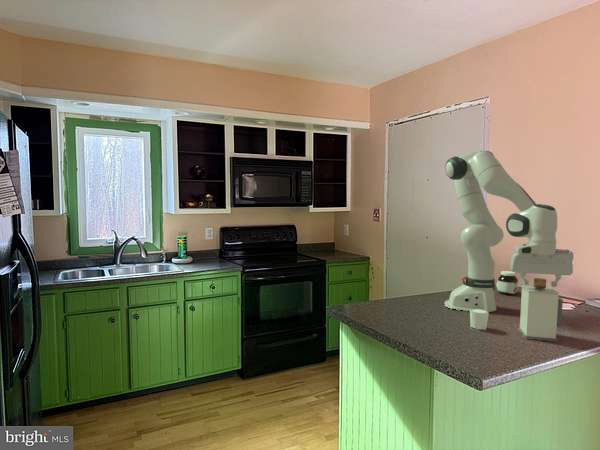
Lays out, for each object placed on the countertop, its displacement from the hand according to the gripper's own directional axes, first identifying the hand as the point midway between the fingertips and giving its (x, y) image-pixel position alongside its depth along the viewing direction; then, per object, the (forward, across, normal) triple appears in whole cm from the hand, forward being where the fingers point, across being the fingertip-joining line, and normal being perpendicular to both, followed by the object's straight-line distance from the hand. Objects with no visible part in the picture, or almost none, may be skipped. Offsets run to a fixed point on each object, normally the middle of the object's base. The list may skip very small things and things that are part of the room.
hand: (539, 285), depth 154 cm
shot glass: (+19, +20, -3) cm, 28 cm away
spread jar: (+19, -3, -69) cm, 72 cm away
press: (+19, -1, 0) cm, 19 cm away
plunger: (+18, 0, 0) cm, 18 cm away
